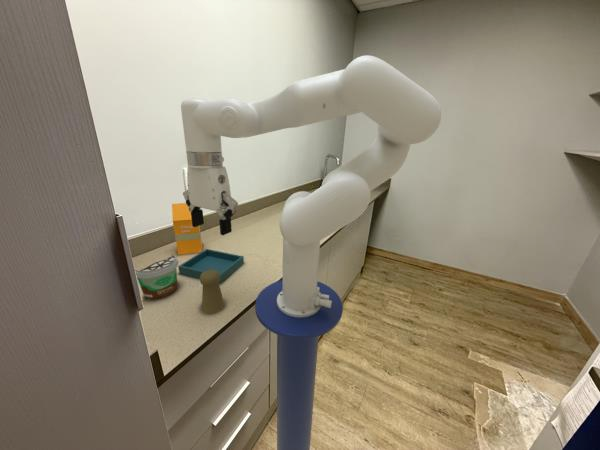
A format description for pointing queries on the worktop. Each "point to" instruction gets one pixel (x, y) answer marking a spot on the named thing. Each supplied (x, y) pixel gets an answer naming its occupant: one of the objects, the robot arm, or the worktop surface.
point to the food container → (159, 278)
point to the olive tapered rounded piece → (211, 292)
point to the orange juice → (185, 230)
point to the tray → (211, 264)
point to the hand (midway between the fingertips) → (211, 229)
